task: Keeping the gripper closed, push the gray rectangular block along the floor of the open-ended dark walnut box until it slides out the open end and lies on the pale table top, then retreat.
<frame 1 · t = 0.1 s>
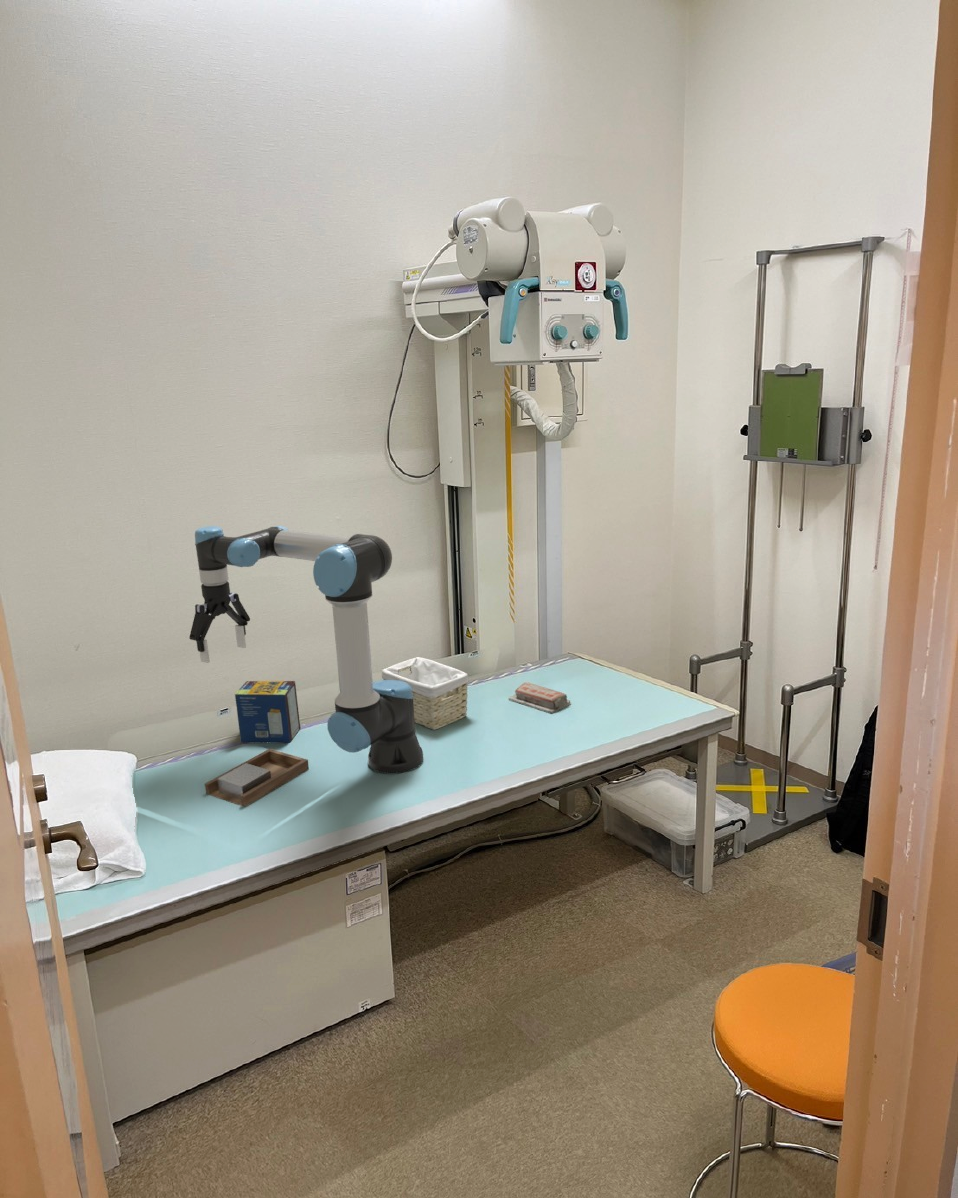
hand: (223, 654, 261), 28 cm above the table, fingers open, 13 cm apart
packaged product: (539, 704, 290), on the table
storage basket: (427, 715, 284), on the table
walnut box: (257, 786, 243), on the table
gray rectangular block: (245, 788, 239), point 1 cm above the table, touching walnut box
protein box: (270, 736, 274), on the table
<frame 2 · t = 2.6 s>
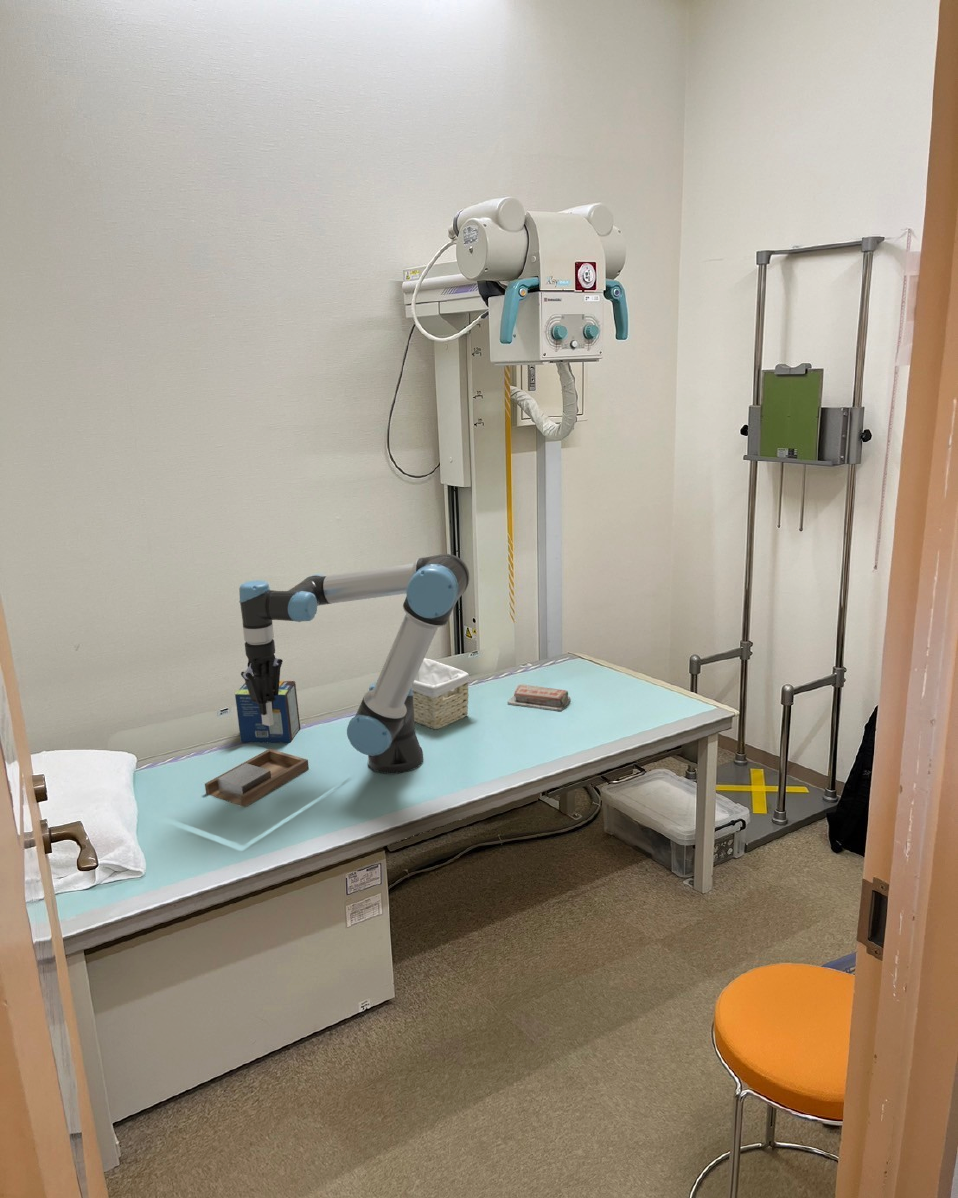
hand: (268, 724, 244), 15 cm above the table, fingers closed
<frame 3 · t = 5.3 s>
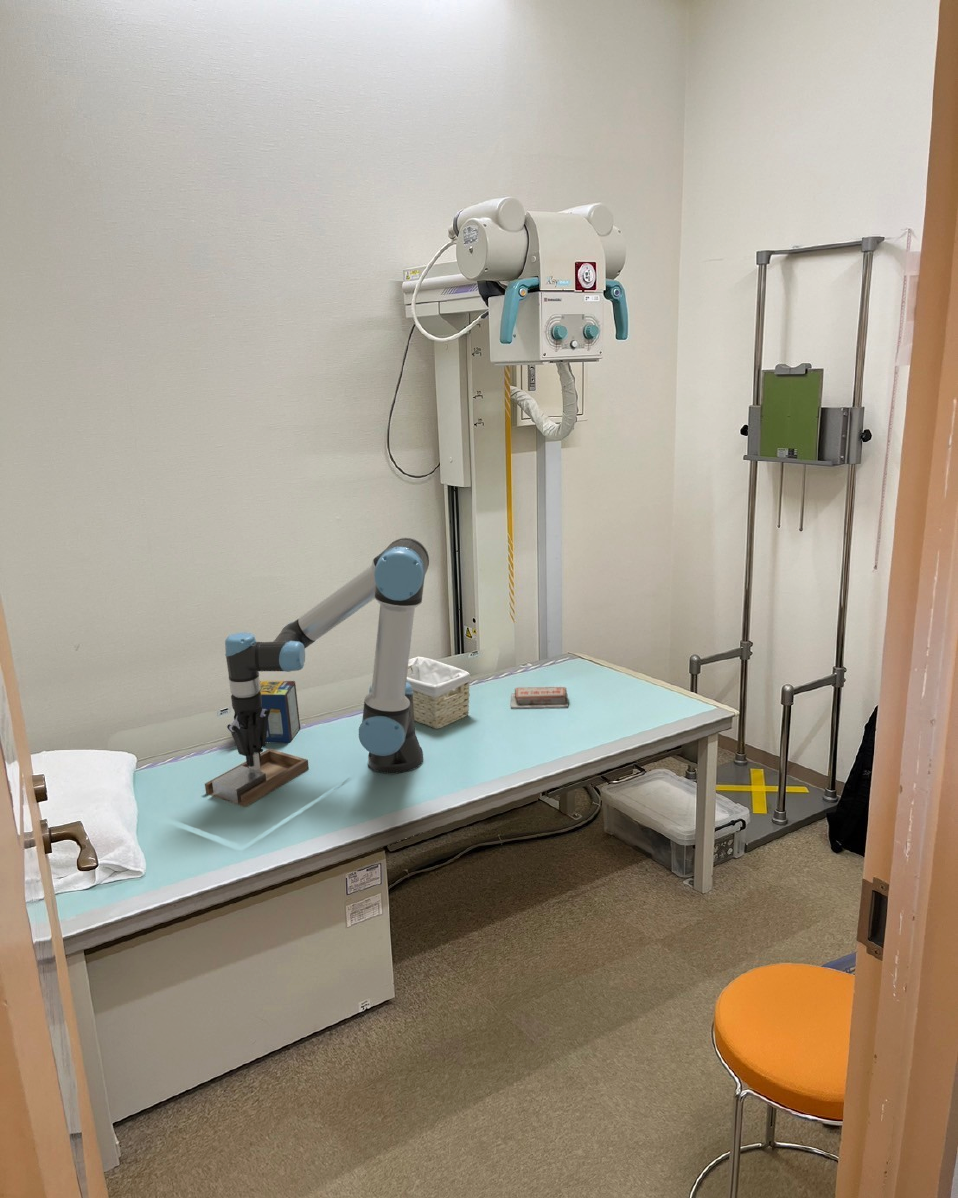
hand: (255, 775, 242), 3 cm above the table, fingers closed
gray rectangular block: (240, 791, 238), point 1 cm above the table, touching gripper, walnut box
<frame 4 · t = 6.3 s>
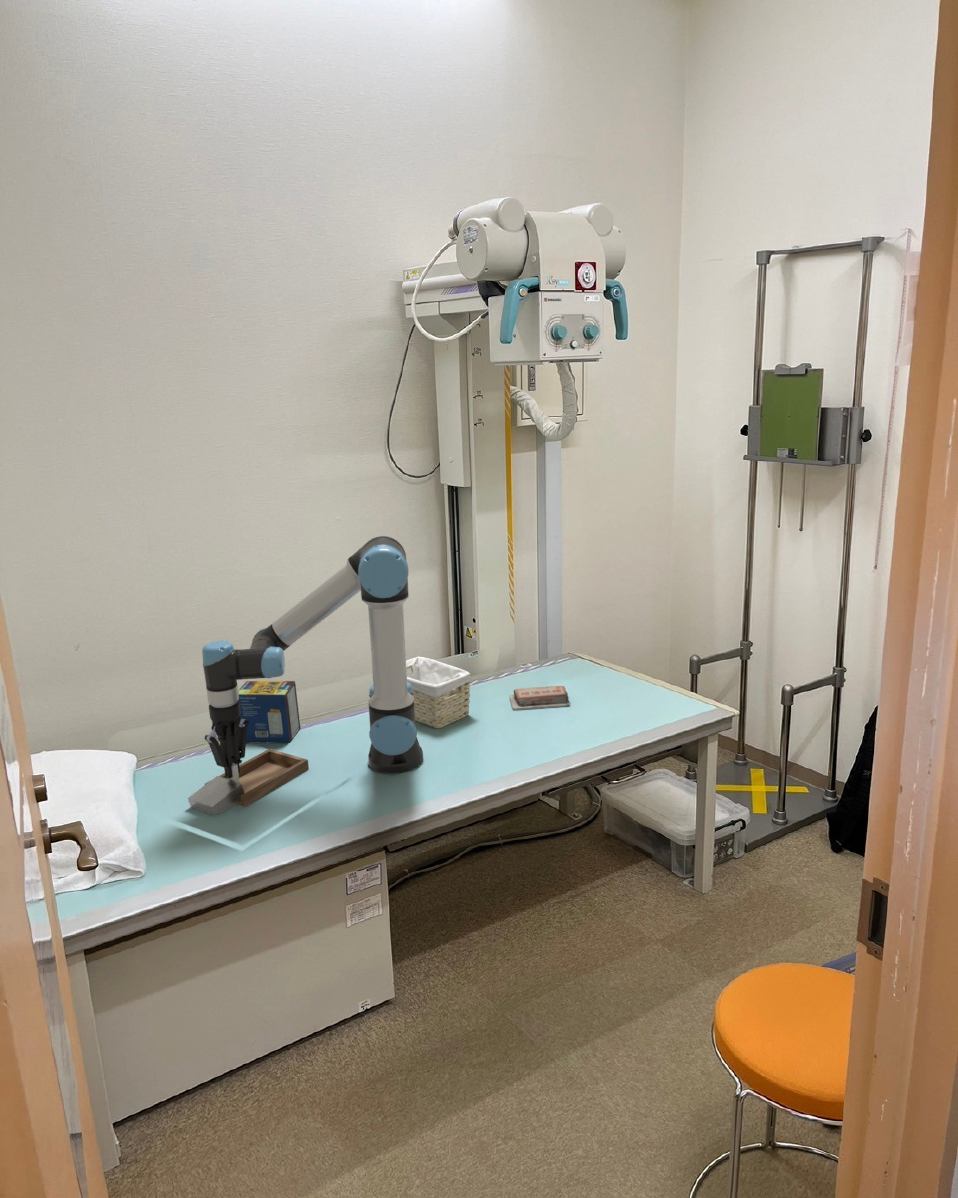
hand: (234, 786, 236), 3 cm above the table, fingers closed
gray rectangular block: (218, 803, 233), point 1 cm above the table, tilted 10°, touching gripper
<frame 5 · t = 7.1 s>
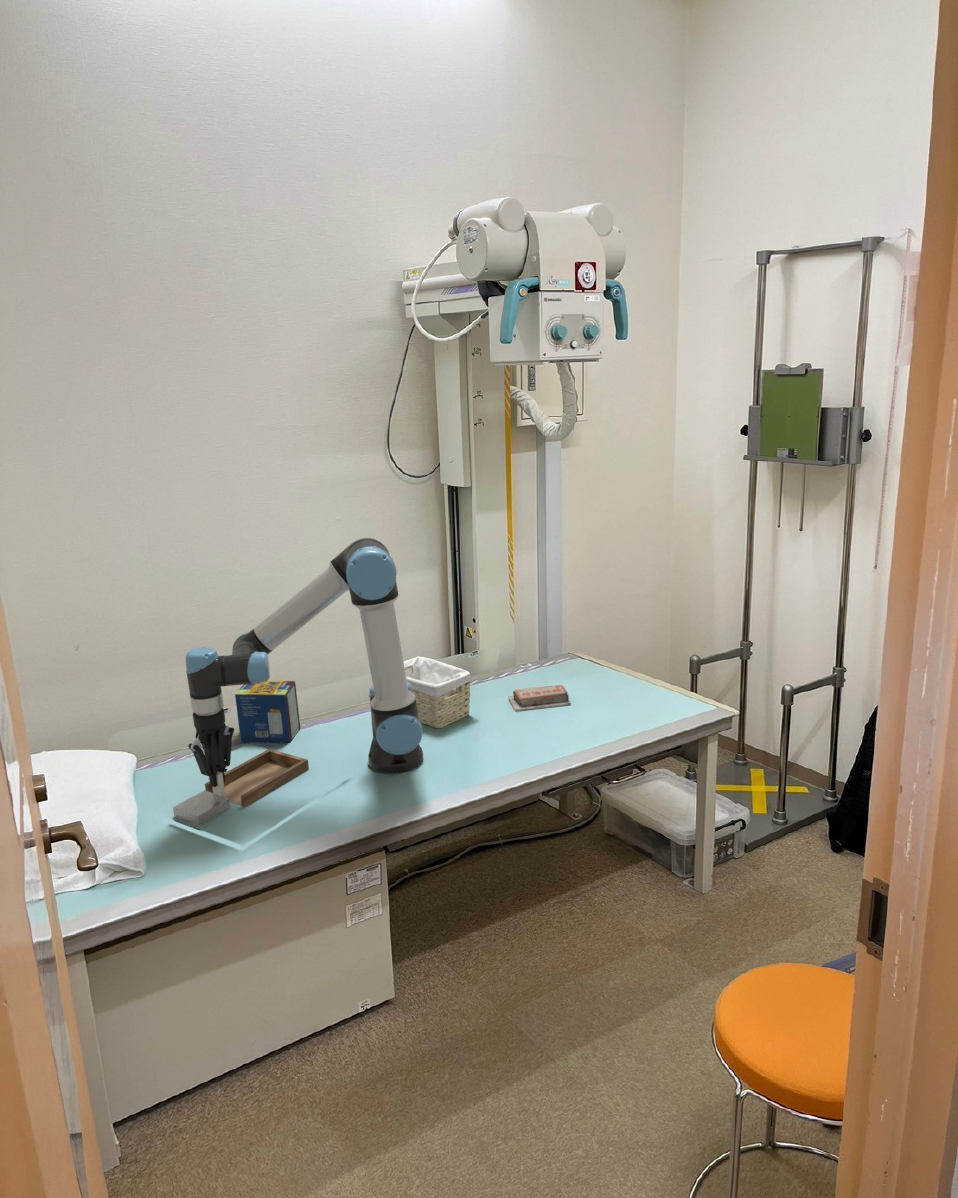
hand: (219, 795, 232), 3 cm above the table, fingers closed
gray rectangular block: (203, 817, 229), on the table, touching gripper
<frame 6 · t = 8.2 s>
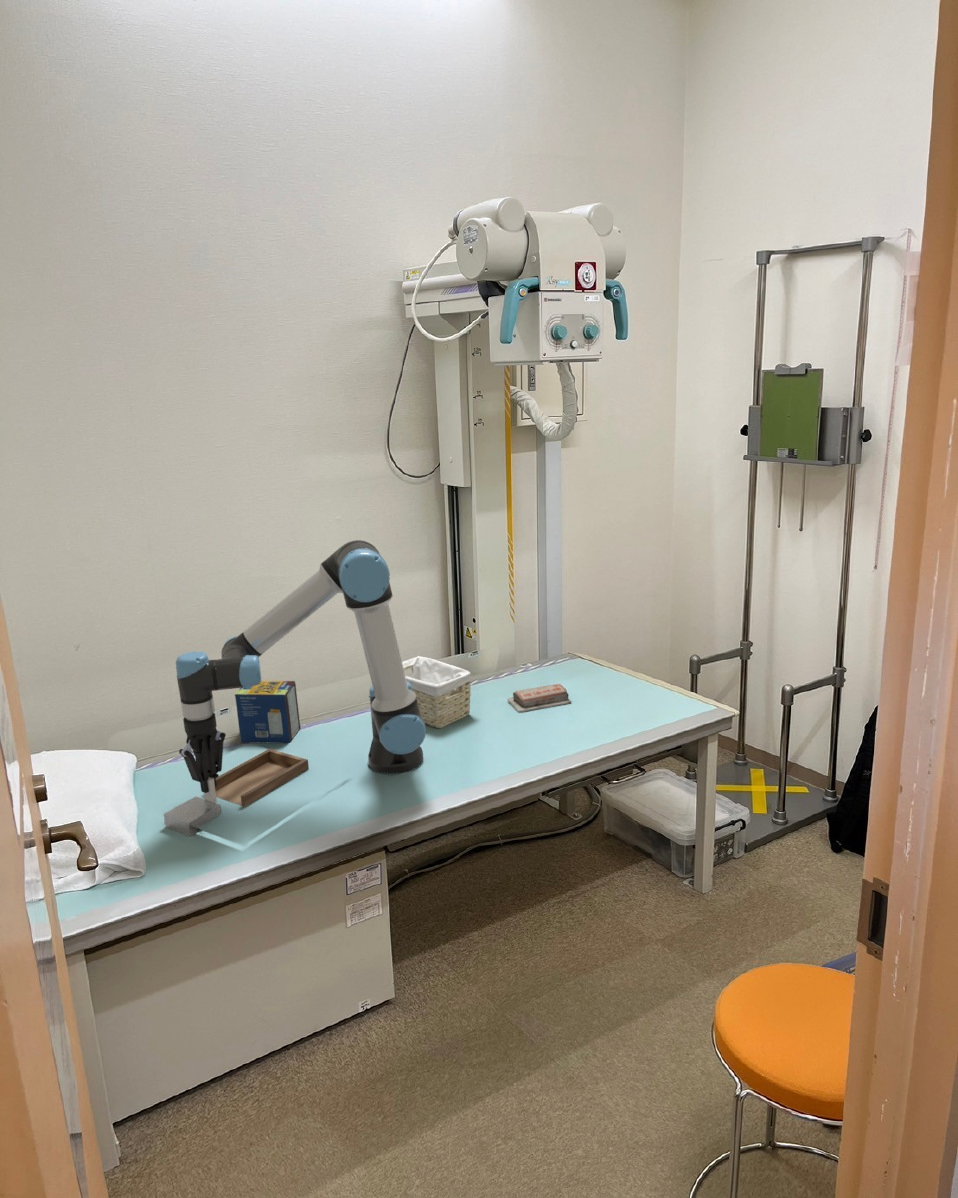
hand: (210, 801, 230), 3 cm above the table, fingers closed
gray rectangular block: (194, 823, 226), on the table
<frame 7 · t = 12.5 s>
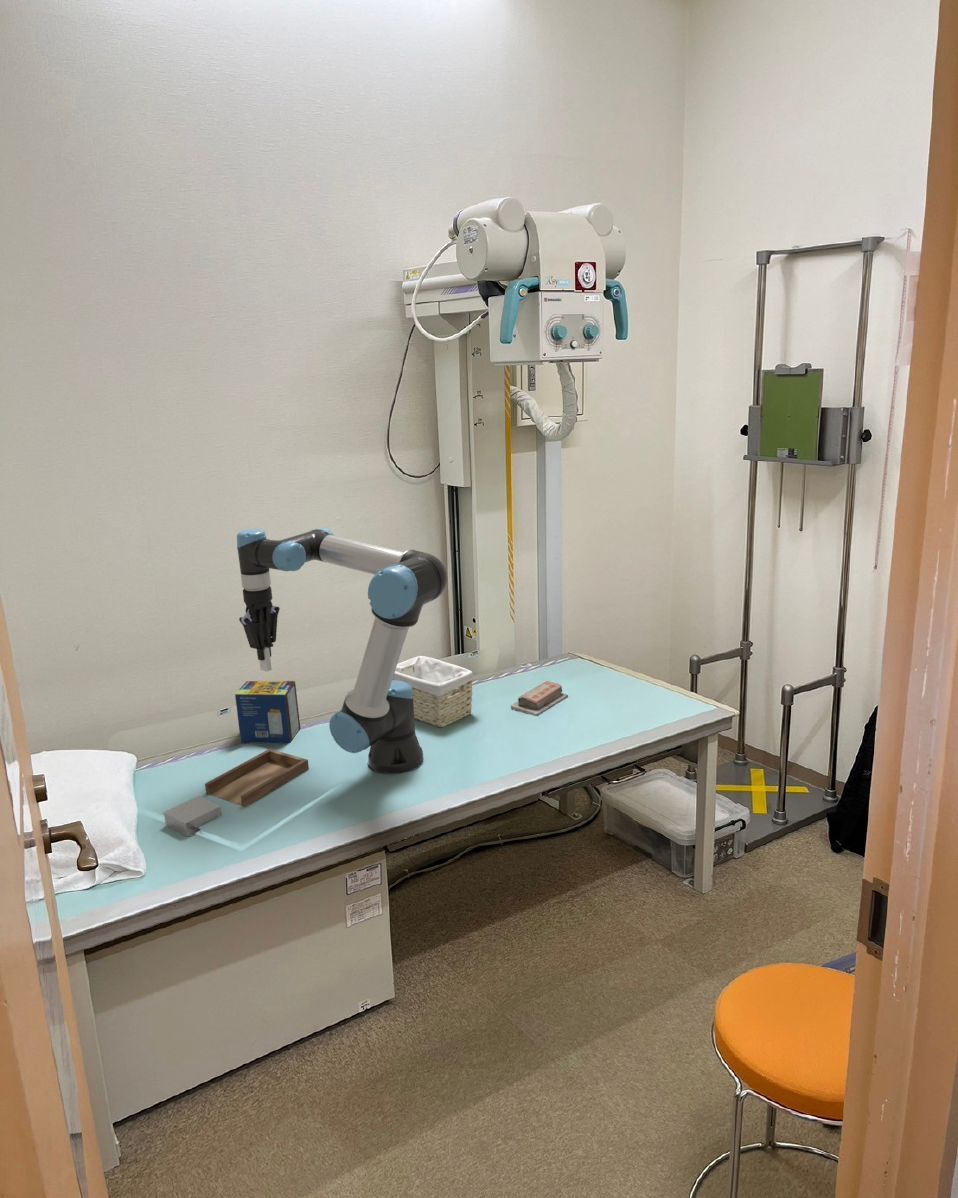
hand: (266, 669, 252), 26 cm above the table, fingers closed
at the end: gray rectangular block inside the target area (1.8 cm from its centre), on the table; gray rectangular block tilted 0°; gray rectangular block touching table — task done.
